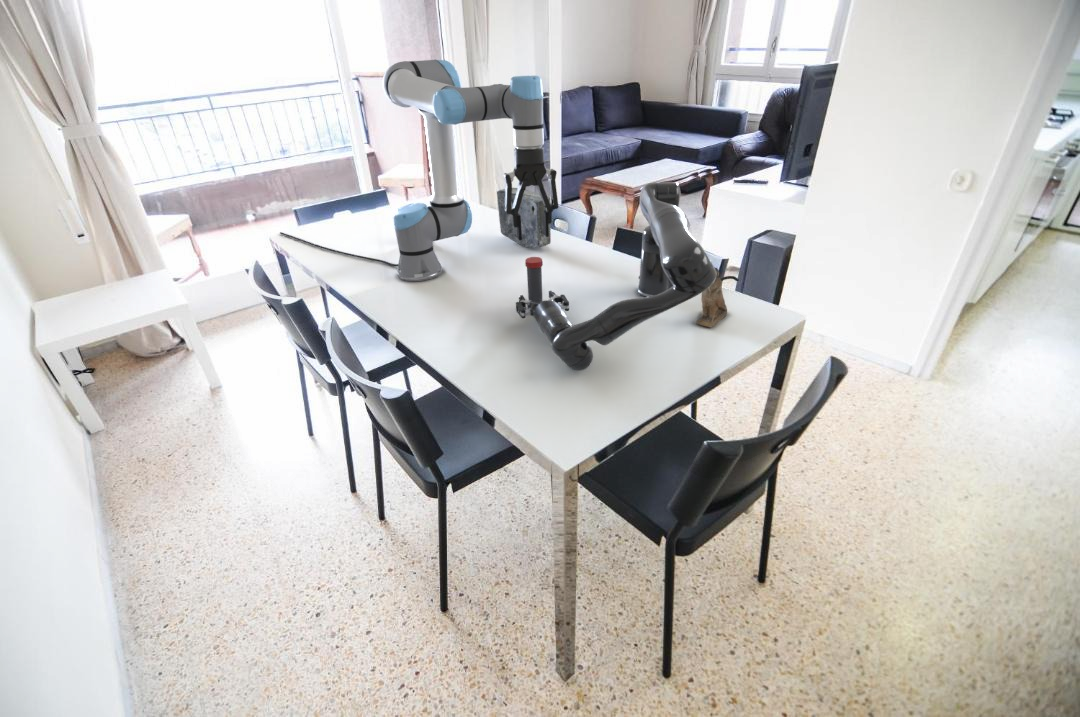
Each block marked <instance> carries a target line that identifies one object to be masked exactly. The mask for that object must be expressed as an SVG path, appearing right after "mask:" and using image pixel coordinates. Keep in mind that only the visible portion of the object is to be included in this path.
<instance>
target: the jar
mask: <svg viewBox="0 0 1080 717" xmlns="http://www.w3.org/2000/svg"><path fill="white" fill-rule="evenodd" d="M542 274H543V273H542V266H541V267H539V268H528V267H526V277H527V279H526V280H527V281H526V282H527V296H528V300H527V301H530V300H532V301H536V302H538V301H539V302H542V301H544V299H543V275H542ZM532 306H533V305H532Z"/></svg>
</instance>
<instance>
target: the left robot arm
mask: <svg viewBox="0 0 1080 717" xmlns="http://www.w3.org/2000/svg"><path fill="white" fill-rule="evenodd" d="M460 78H461V77H460V75H459V73H458V70H456V67H455V66H454V65H453V64H452V63H451V62H450V61H449V60H445V59H428V60H427V59H426V60H425V59H424V60H403V61H398V62H395V63H393V64H392V65H390V66H389V67H388V68H387V69H386V71H385V72H384V75H383V77H382V89H383V90H382V91H383V92H384V95H385V97H386V98H387V100H389V101H390V102H391V103H392V104H394V105H396V106H398V107H401V108H411V107H413V108H416V109H417V111H418V112H419V113H420V115H421V116H423V119H424V120H423V121H424V127H425V128H424V129H425V136H426V144H427V145H426V146H427V152H428V160H429V169H430V177H431V185H432V195H431V196H430V197H429V206H428V205H427V204H426V203H424V202H415V203H408V204H406V205H403V206H401V207H399V208H397V209H396V210H395V211H394V213H393V215H392V219H393V228H394V230H395V231H394V232H395V236H396V241H397V247H398V251H399V259H398V263H391V262H388V261H386V260H382V259H378V258H373V257H367V256H363V255H358V254H353V253H349V252H344V251H340V250H337V249H333V248H330V247H325V246H322V245H319V244H316V243H313V242H311V241H307V240H305V239H302V238H300V237H297V236H293V235H290V234H288V233H285V232H281V231H280V232H279V234H280V235H283V236H286V237H289V238H292V239H294V240H297V241H300V242H303V243H305V244H308V245H311V246H314V247H317V248H320V249H324V250H325V251H326V250H327V251H330V252H333V253H337V254H342V255H345V256H350V257H354V258H360V259H364V260H368V261H369V260H370V261H374V262H379V263H383V264H386V265H388V266H391V267H397V276H398V278H399V279H400V280H402V281H406V282H413V283H414V282H425V281H429V280H432V279H435V278H438V277H439V276H440V275H441V274H442V273H443V268H442V264H441V263H440V260H439V259H438V256H437V254H436V252H435V250H434V243H433V242H436V241H441V240H445V239H450V238H454V237H459V236H461V235H465V234H467V233H468V231H469V230H470V229H471V227H472V224H473V212H472V209H471V206H470V204H469V203H468V201H467V200H466V199H465V198H464V196H463V194H461V193H460V192H459V181H458V170H457V169H458V168H457V159H456V158H457V157H456V149H455V138H454V137H455V136H454V129H453V128H454V127H453V126H455V125H459V124H465V123H472V122H482V121H483V122H484V121H492V120H501V119H508V120H512V133H513V134H512V135H513V136H512V137H513V145H514V149H513V153H514V154H513V155H514V168H513V171H511V172H504V173H503V179H504V182H505V183H504V184H505V185H504V189H505V212H506V213H507V214H511V215H512V224H513V226H514V228H515V227H516V229H517V238H518V239H519V240H522V232H521V216H520V215H519V213H518V211H519V208H520V204H521V201H522V197H523V194H524V191H525V190H527V187H530V186H531V187H533V186H534V187H536V188H537V190H538V193H539V194H540V196H541V198H542V201H543V204H544V206H545V209H546V210H543V234H544V235H545V236H546V237H549V227H548V224H550V225H551V224H552V222H553V214H552V213H553V212H554V210H557V209H559V198H558V191H557V190H558V189H557V183H556V178H557V173H558V172H557V171H556V169H554V168H547V167H546V164H545V148H544V147H543V146H544V144H545V134H544V93H543V81H542V78H541V77H540V76H539V75H515V76H512V77H511V78H510V83H509V84H503V83H494V84H491V85H481V86H480V85H479V86H471V87H463V86H462V82H461V79H460ZM545 175H546V177H547V180H548V187H549V196H548V195H547V193H546V190H545V187H544V186H545V185H544V184H543V179H544V177H545ZM514 178H516V179H517V180H518V184H517V188H518V189H517V193H516V196H515V200H514V203H513V207H512V209H511V199H512V188H513V182H514ZM548 197H550V203H549V200H548Z"/></svg>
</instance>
